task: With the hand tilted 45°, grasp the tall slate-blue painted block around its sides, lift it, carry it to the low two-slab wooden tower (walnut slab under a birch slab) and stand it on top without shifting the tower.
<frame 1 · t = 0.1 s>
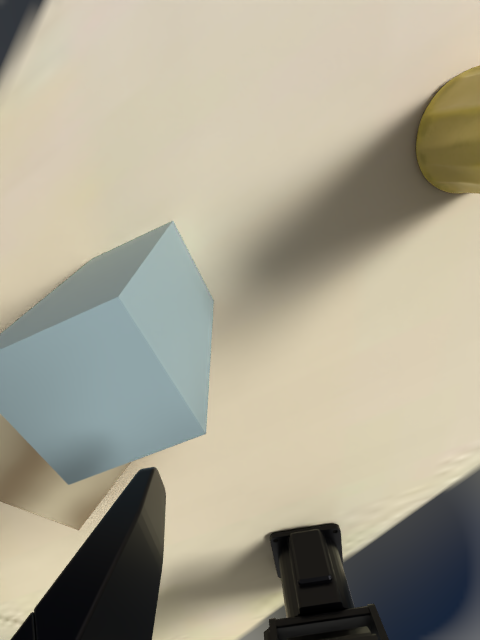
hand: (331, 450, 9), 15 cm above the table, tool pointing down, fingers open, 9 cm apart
vase: (467, 134, 20), on the table
birch slab: (53, 440, 25), point 1 cm above the table, touching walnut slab
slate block: (154, 280, 22), on the table
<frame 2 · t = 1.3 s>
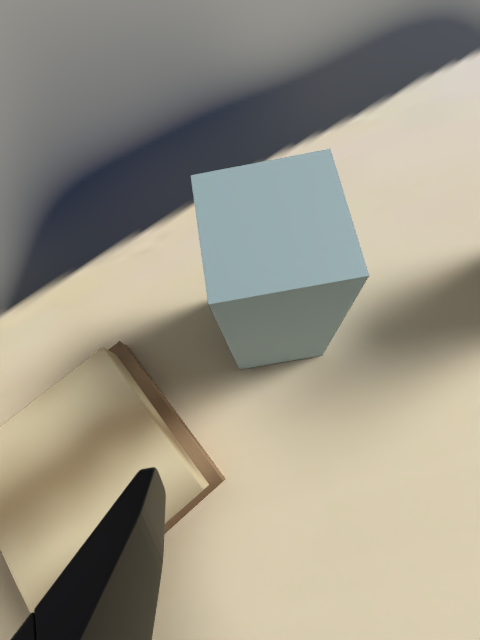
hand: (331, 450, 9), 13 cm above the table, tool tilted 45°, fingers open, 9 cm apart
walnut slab: (109, 464, 23), on the table, touching birch slab
birch slab: (92, 470, 21), point 1 cm above the table, touching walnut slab
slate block: (272, 323, 24), on the table
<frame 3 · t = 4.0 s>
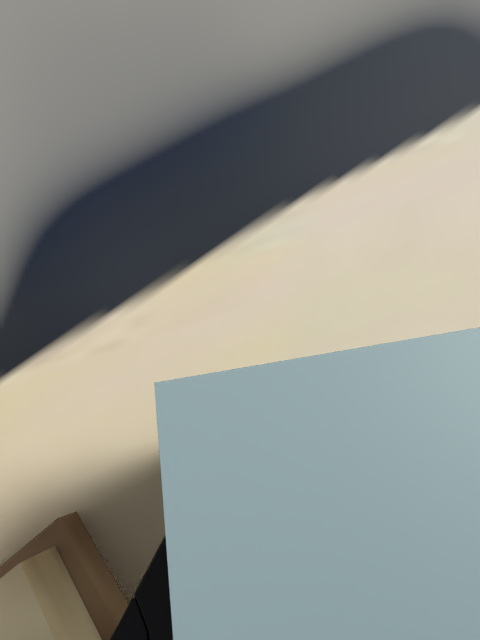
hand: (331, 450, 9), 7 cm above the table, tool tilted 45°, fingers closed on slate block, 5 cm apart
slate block: (314, 480, 15), on the table, touching gripper
when the fingers open (11 cm above the table, at t = 8.6 s): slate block drops 1 cm, resting on birch slab.
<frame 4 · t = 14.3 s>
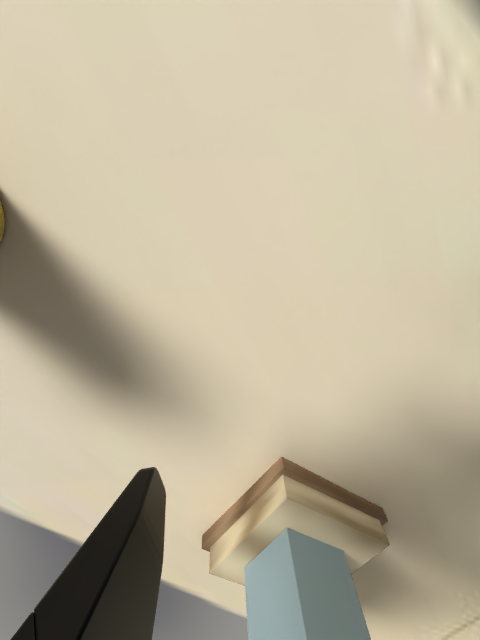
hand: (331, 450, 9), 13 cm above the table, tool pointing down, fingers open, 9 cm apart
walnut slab: (290, 512, 31), on the table, touching birch slab
birch slab: (293, 534, 29), point 1 cm above the table, touching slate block, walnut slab
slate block: (293, 559, 27), point 3 cm above the table, touching birch slab
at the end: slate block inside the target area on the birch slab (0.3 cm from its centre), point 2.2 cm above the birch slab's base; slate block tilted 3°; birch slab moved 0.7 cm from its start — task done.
